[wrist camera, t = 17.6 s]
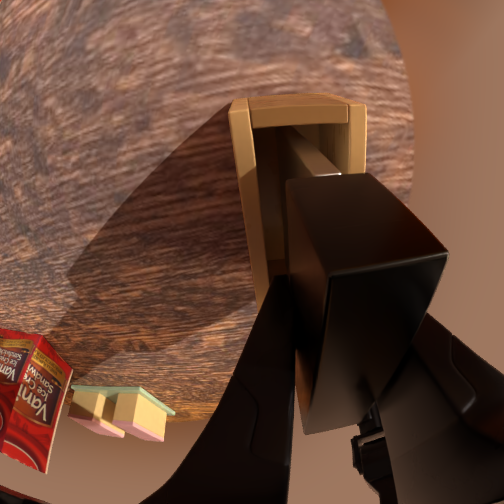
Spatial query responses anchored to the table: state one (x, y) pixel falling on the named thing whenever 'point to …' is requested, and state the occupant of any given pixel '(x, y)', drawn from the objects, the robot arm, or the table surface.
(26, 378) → the ice cream box
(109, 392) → the cake plate
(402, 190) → the table surface
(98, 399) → the cake
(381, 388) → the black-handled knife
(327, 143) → the knife holder
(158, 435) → the cake slice
